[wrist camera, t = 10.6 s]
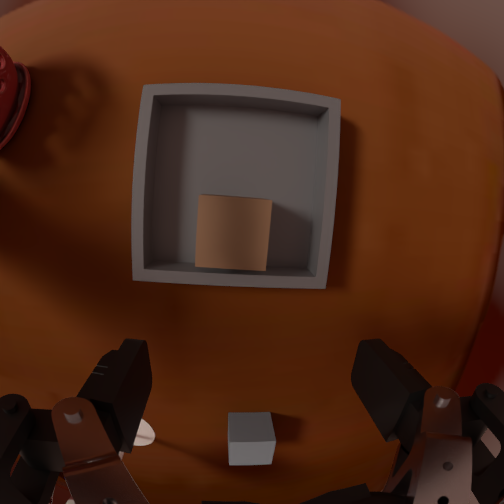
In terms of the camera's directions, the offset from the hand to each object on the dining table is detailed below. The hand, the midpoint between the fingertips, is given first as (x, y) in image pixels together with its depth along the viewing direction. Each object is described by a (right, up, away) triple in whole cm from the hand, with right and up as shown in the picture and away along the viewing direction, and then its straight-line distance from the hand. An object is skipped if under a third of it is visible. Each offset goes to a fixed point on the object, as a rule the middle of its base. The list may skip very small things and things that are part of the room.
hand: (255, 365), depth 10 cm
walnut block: (-2, +6, +15) cm, 16 cm away
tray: (-2, +10, +14) cm, 18 cm away
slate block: (-1, -18, +21) cm, 27 cm away
